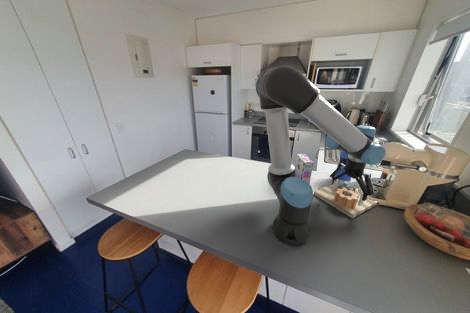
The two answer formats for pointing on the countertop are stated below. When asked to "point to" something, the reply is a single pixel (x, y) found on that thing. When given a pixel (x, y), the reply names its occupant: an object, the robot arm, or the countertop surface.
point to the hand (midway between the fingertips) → (346, 197)
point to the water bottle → (343, 160)
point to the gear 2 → (346, 198)
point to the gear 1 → (346, 185)
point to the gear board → (352, 212)
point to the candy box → (303, 167)
